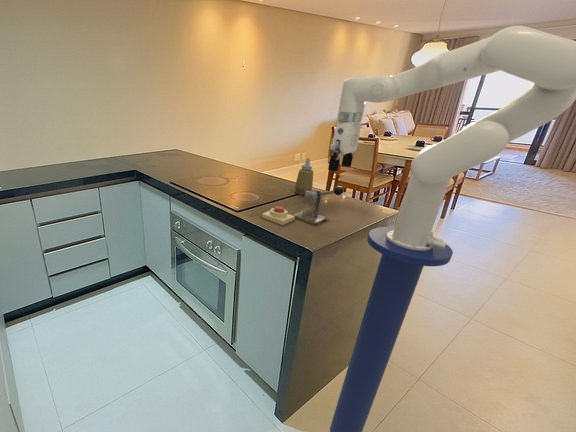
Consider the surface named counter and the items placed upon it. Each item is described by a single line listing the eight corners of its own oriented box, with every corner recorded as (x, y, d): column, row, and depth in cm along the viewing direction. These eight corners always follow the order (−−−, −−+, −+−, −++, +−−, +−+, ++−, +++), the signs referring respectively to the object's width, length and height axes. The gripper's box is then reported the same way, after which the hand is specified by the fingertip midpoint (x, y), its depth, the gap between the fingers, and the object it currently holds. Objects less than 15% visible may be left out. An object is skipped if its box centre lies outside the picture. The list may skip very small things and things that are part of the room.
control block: (294, 220, 118) (295, 212, 116) (282, 225, 113) (283, 217, 112) (273, 212, 125) (274, 204, 123) (261, 217, 120) (262, 209, 119)
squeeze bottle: (290, 192, 150) (295, 157, 142) (303, 190, 153) (308, 155, 145) (301, 197, 143) (308, 160, 136) (314, 195, 146) (321, 159, 139)
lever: (345, 193, 107) (343, 184, 107) (341, 195, 105) (339, 186, 105) (313, 199, 117) (311, 191, 117) (309, 200, 115) (307, 192, 115)
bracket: (326, 220, 118) (331, 192, 113) (315, 225, 113) (321, 196, 108) (303, 212, 125) (308, 186, 120) (292, 217, 120) (297, 189, 116)
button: (285, 211, 117) (285, 207, 117) (279, 214, 115) (280, 209, 115) (277, 209, 120) (278, 205, 119) (272, 211, 118) (272, 207, 117)
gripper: (348, 120, 90) (338, 174, 97) (372, 117, 101) (361, 166, 107) (325, 118, 96) (316, 170, 103) (349, 116, 106) (340, 163, 113)
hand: (339, 168), depth 105 cm, fingers open, 9 cm apart
